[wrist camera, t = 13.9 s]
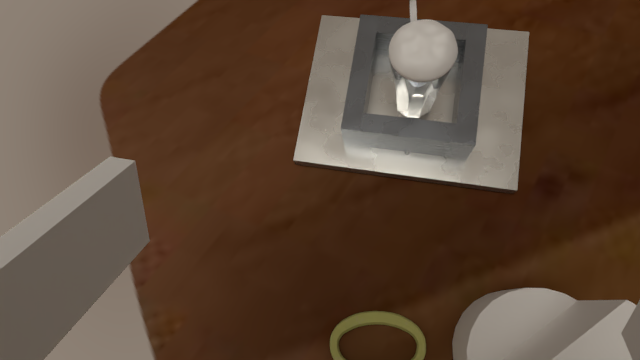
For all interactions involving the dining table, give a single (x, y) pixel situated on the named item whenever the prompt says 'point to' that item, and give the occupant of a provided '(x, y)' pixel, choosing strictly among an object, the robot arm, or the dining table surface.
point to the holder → (408, 132)
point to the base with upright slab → (541, 327)
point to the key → (381, 319)
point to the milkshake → (420, 63)
